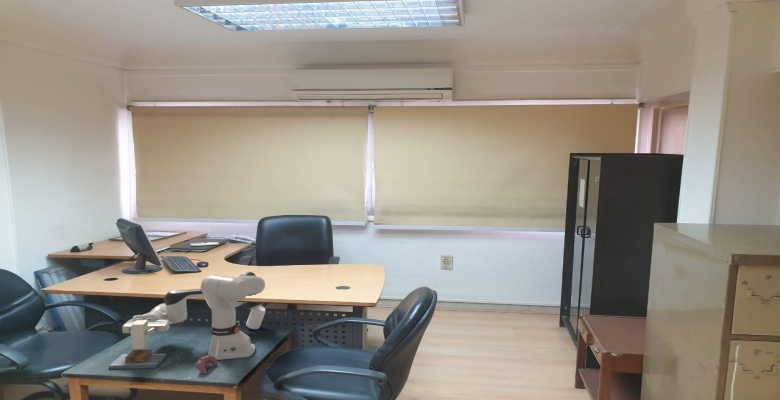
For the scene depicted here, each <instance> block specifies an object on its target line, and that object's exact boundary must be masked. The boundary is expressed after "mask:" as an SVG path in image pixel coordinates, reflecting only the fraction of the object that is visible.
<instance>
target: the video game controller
mask: <svg viewBox="0 0 780 400" xmlns="http://www.w3.org/2000/svg"><path fill="white" fill-rule="evenodd" d="M211 365H212V366H214V367H215V366H218V361H217V359H215V358H214V357H212V356H210V355H209V354H208V355H203V356H202V357H200V358H198V360H197V361H196V363H195V368H196V369H197V370H198V371H199V372H200V373H201V374H204V375H207V373H208V371H207V369H208V368H210V366H211Z"/></svg>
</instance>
